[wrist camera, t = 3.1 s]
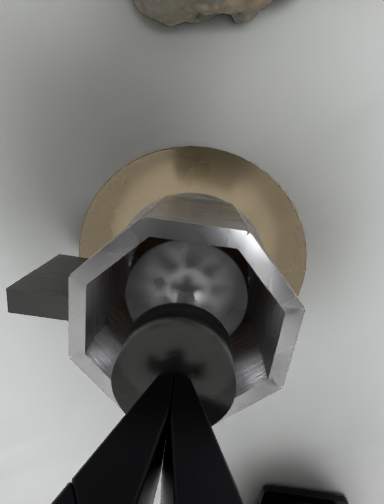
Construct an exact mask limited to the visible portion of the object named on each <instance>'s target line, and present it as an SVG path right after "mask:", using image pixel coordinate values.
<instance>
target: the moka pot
mask: <svg viewBox="0 0 384 504" xmlns="http://www.w3.org/2000/svg"><path fill="white" fill-rule="evenodd" d="M168 239H171V240H179V241H186V242H193V243H200V244H208V245H215V246H219V247H221V248H222V249H224V250H225V251H226V252H227V253H228V254H230V255H231V257H232V258H233V259H234V260H235V261H236V263H237V264H238V266H239V267H240V269H241V272H242V274H243V277H244V280H245V283H246V287H247V307H246V311H245V314H244V317H243V319H242V321H241V323H240V324H239V326H238V327H237V328H236V330H235V331H234V332H233V333H232V334H231V335H230V336H229V338H230V342H231V348H232V355H233V363H234V370H235V378H236V395H235V399H234V402H233V404H232V406H231V408H230V410H229V411H228V412H227V414H226V415H225V416H224V417H223V418H222V419H221V420H220V421H222V420H223V419H225V418H227V417H229V416H231V415H233V414H235V413H236V412H238V411H240V410H242V409H244V408H246V407H248V406H249V405H251V404H253V403H255V402H257V401H259V400H261V399H262V398H264V397H266V396H268V395H270V394H272V393H274V392H276V391H277V390H279V389H281V386H283V385H284V381H285V378H286V374H287V371H288V367H289V364H290V360H291V357H292V354H293V350H294V347H295V343H296V340H297V336H298V333H299V329H300V326H301V322H302V319H303V315H304V312H305V310H304V306H303V305H302V303H301V302H300V300H299V299H298V295H299V292H300V289H301V286H302V283H303V279H304V274H305V269H306V244H305V237H304V233H303V229H302V225H301V222H300V220H299V217H298V214H297V212H296V210H295V208H294V206H293V205H292V203H291V201H290V199H289V198H288V196H287V195H286V194H285V193H284V191H283V190H282V189H281V187H280V186H279V185H278V184H277V183H276V182H275V181H274V180H273V179H272V178H271V177H270V176H269V175H268V174H266V173H265V172H264V171H262V170H261V169H260V168H258V167H257V166H255V165H254V164H252V163H250V162H248V161H246V160H245V159H243V158H241V157H239V156H236V155H233V154H230V153H228V152H225V151H221V150H216V149H211V148H205V147H177V148H170V149H165V150H161V151H157V152H154V153H151V154H149V155H146V156H143V157H141V158H139V159H137V160H135V161H134V162H132V163H130V164H128V165H127V166H125V167H124V168H123V169H121V170H120V171H119V172H117V173H116V174H115V175H114V176H113V177H112V178H111V179H110V180H109V181H108V182H107V183H106V184H105V185H104V186H103V187H102V189H101V190H100V191H99V193H98V194H97V195H96V197H95V198H94V200H93V202H92V204H91V206H90V208H89V209H88V212H87V214H86V217H85V220H84V222H83V226H82V231H81V235H80V245H79V257H75V256H68V255H61V254H59V255H58V256H56V257H54V258H53V259H51V260H50V261H48V262H47V263H45V264H44V265H42V266H40V267H39V268H37V269H36V270H34V271H33V272H31V273H29V274H28V275H26V276H25V277H23V278H22V279H20V280H19V281H17V282H15V283H14V284H12V285H11V286H9V287H8V288H6V292H7V304H8V312H10V313H17V314H24V315H31V316H39V317H46V318H53V319H60V320H67V321H69V356H71V358H70V359H71V360H72V361H73V362H74V363H75V364H76V365H77V366H78V367H79V368H80V369H81V370H82V371H83V372H84V373H85V374H86V375H87V376H88V377H89V378H90V379H91V380H92V381H94V382H95V383H96V384H97V385H98V386H99V387H100V388H101V389H102V390H103V391H104V392H105V393H106V394H107V395H108V396H109V397H110V398H111V399H112V400H113V401H114V402H115V403H116V404H117V405H118V403H117V401H116V399H115V397H114V394H113V391H112V386H111V375H112V370H113V367H114V364H115V362H116V359H117V357H118V355H119V353H120V351H121V348H122V346H123V344H124V342H125V339H126V337H127V335H128V333H129V331H130V329H131V327H132V325H133V323H134V321H133V319H132V318H131V316H130V313H129V311H128V307H127V303H126V284H127V280H128V277H129V274H130V272H131V270H132V268H133V267H134V265H135V264H136V262H137V261H138V259H139V258H140V257H141V256H142V255H143V254H144V253H145V252H146V251H147V250H148V249H150V248H151V247H153V246H154V245H156V244H158V243H160V242H162V241H165V240H168ZM118 406H119V405H118ZM119 407H120V406H119ZM220 421H218V422H220ZM218 422H217V423H218Z"/></svg>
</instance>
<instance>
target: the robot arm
mask: <svg viewBox="0 0 384 504" xmlns="http://www.w3.org/2000/svg"><path fill="white" fill-rule="evenodd" d="M173 385H174V386H173ZM166 435H167V436H166ZM165 442H166V443H165ZM164 449H165V450H164ZM163 456H164V457H163ZM162 462H163V466H162ZM161 468H162V478H161V503H160V504H244V502H243V500H242V498H241V495H240V493H239V491H238V488H237V486H236V484H235V481H234V479H233V477H232V474H231V472H230V470H229V467H228V465H227V463H226V460H225V458H224V456H223V453H222V451H221V449H220V446H219V444H218V442H217V439H216V437H215V435H214V432H213V430H212V428H211V425H210V423H209V421H208V418H207V416H206V414H205V411H204V409H203V407H202V404H201V402H200V399H199V397H198V395H197V392H196V390H195V388H194V385H193V383H192V381H191V379H190V378H189V377H183V376H176V377H175V379H174V376H173V375H169V374H159V375H158V376H157V377H156V378H155V380H154V381H153V382H152V383H151V384H150V386H149V387H148V388H147V389H146V391H145V392H144V393H143V394H142V395H141V397H140V398H139V399H138V400H137V401H136V403H135V404H134V405H133V406H132V407H131V409H130V410H129V411H128V412H127V413H126V415H125V416H124V417H123V418H122V419H121V421H120V422H119V423H118V424H117V425H116V427H115V428H114V429H113V430H112V431H111V433H110V434H109V435H108V436H107V437H106V439H105V440H104V441H103V442H102V443H101V445H100V446H99V447H98V448H97V450H96V451H95V452H94V453H93V454H92V456H91V457H90V458H89V459H88V460H87V462H86V463H85V464H84V465H83V466H82V468H81V469H80V470H79V471H78V472H77V474H76V475H75V476H74V477H73V478H72V483H71V482H69V483H68V484H67V485H66V487H65V488H64V489H63V490H62V491H61V493H60V494H59V495H58V496H57V497H56V499H55V500H54V501H53V502H52V503H51V504H153V502H154V498H155V494H156V490H157V486H158V482H159V478H160V473H161ZM258 504H349V503H348V501H347V499H346V497H344V496H340V495H333V494H326V493H319V492H312V491H305V490H298V489H291V488H284V487H277V486H265V487H263V489H262V492H261V495H260V498H259V502H258Z"/></svg>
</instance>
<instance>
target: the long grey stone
mask: <svg viewBox="0 0 384 504" xmlns="http://www.w3.org/2000/svg"><path fill="white" fill-rule="evenodd" d="M272 1H274V0H134V3H135V4H136V6H137V7H138V9H139V11H140V12H141V13H142V14H143V15H145V16H147V17H149V18H153V19H156V20H157V21H158V22H162V23H164V24H165V25H167V26H170V27H171V26H174V25H177V24H181V23H183V22H186V21H187V22H189V23H195V24H197V23H199V22H200V21H202V20H209V19H211V18H213V17H215V16H216V15H219V14H222V13H225V14H230V15H231V16H232V17H233V19H234V21H235V22H236V23H239V22H240V23H244V22H249V21H251V20H252V19H253V18H254V17H255V16H256V14H257V12H258V10H262V9H264V8H265V7H266V6H268V5H269V4H270V3H271V2H272Z"/></svg>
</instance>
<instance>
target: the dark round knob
mask: <svg viewBox="0 0 384 504" xmlns="http://www.w3.org/2000/svg"><path fill="white" fill-rule="evenodd" d="M126 303H127V307H128V311H129V313H130V316H131V318H132V319H133V321H134V323H133V325H132V327H131V329H130V331H129V333H128V335H127V337H126V339H125V342H124V344H123V346H122V348H121V351H120V353H119V355H118V357H117V359H116V362H115V364H114V367H113V370H112V375H111V386H112V391H113V394H114V397H115V399H116V401H117V403H118V405H119V406H120V408H121V409H122V410H123V411H124V412H125V413H127V412H128V411H129V410H130V409H131V407H132V406H133V405H134V404H135V403H136V401H137V400H138V399H139V398H140V397H141V395H142V394H143V393H144V392H145V391H146V389H147V388H148V387H149V386H150V384H151V383H152V382H153V381H154V380H155V378H156V377H157V376H158V375H159V374H169V375H173V376H174V379H175V377H176V376H183V377H189V378H190V379H191V381H192V383H193V385H194V388H195V390H196V392H197V395H198V397H199V399H200V402H201V404H202V407H203V409H204V411H205V414H206V416H207V418H208V421H209V423H210V425H211V426H212V425H214V424H216V423H217V422H218V421H220V420H221V419H222V418H223V417H224V416H225V415H226V414H227V412H228V411H229V410H230V408H231V406H232V404H233V402H234V399H235V395H236V378H235V370H234V363H233V355H232V348H231V342H230V338H229V336H230V335H231V334H232V333H233V332H234V331H235V330H236V328H237V327H238V326H239V324H240V323H241V321H242V319H243V317H244V314H245V311H246V307H247V287H246V283H245V280H244V277H243V274H242V272H241V269H240V267H239V266H238V264H237V263H236V261H235V260H234V259H233V258H232V257H231V255H230V254H228V253H227V252H226V251H225V250H224V249H222V248H221V247H219V246H215V245H208V244H200V243H193V242H186V241H179V240H171V239H168V240H165V241H162V242H160V243H158V244H156V245H154V246H153V247H151V248H150V249H148V250H147V251H146V252H145V253H144V254H143V255H142V256H141V257H140V258H139V259H138V261H137V262H136V264H135V265H134V267H133V268H132V270H131V272H130V274H129V277H128V280H127V284H126ZM173 386H174V385H173Z"/></svg>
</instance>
